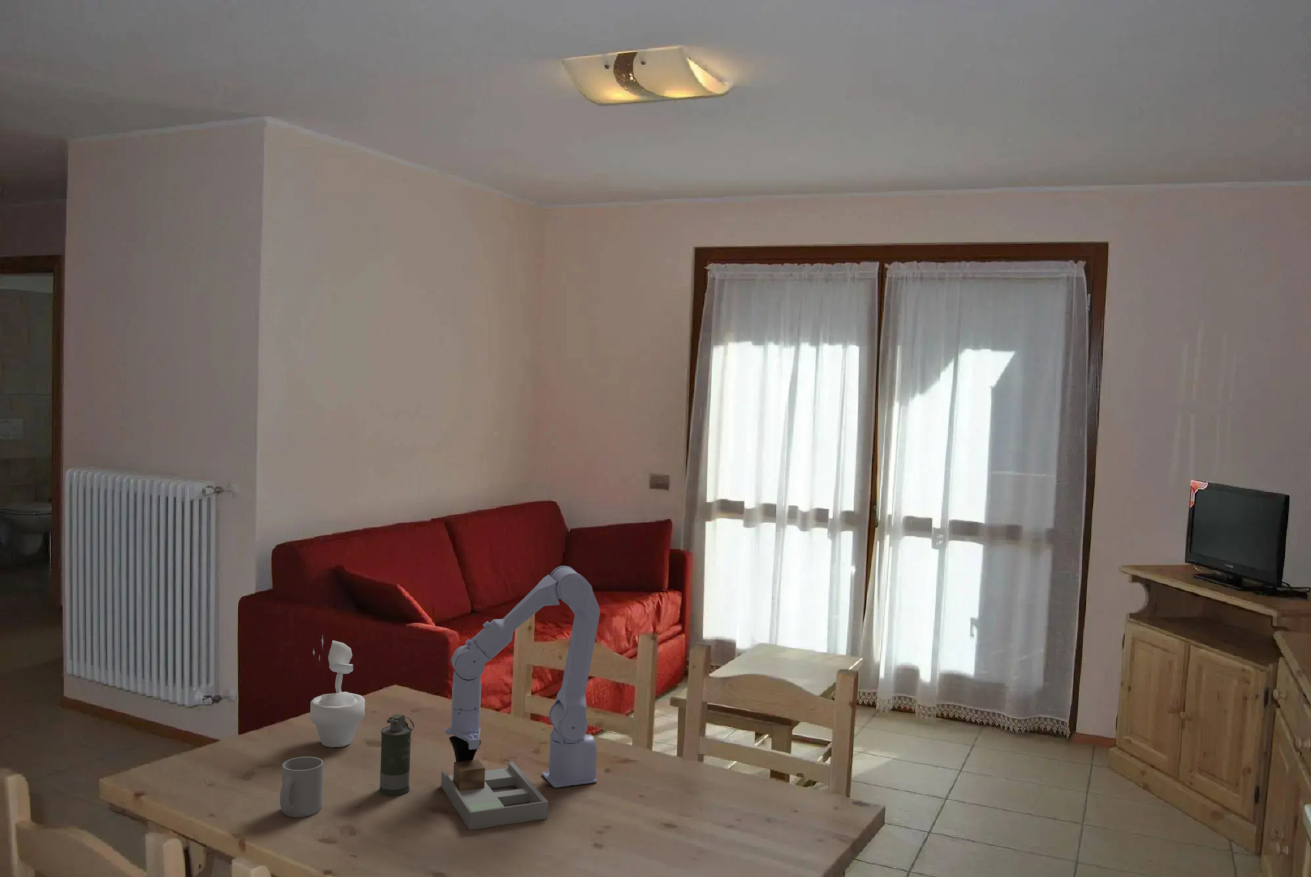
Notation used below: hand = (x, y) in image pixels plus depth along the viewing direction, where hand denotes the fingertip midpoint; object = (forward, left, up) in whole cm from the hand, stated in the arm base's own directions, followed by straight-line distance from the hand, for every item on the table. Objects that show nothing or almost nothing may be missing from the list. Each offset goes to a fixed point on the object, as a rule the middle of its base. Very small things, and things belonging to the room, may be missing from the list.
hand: (463, 772), depth 206 cm
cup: (+32, +2, -3) cm, 32 cm away
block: (0, +4, -1) cm, 4 cm away
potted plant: (+20, -33, -3) cm, 39 cm away
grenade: (+13, -3, -3) cm, 14 cm away
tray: (-4, +9, -3) cm, 10 cm away
